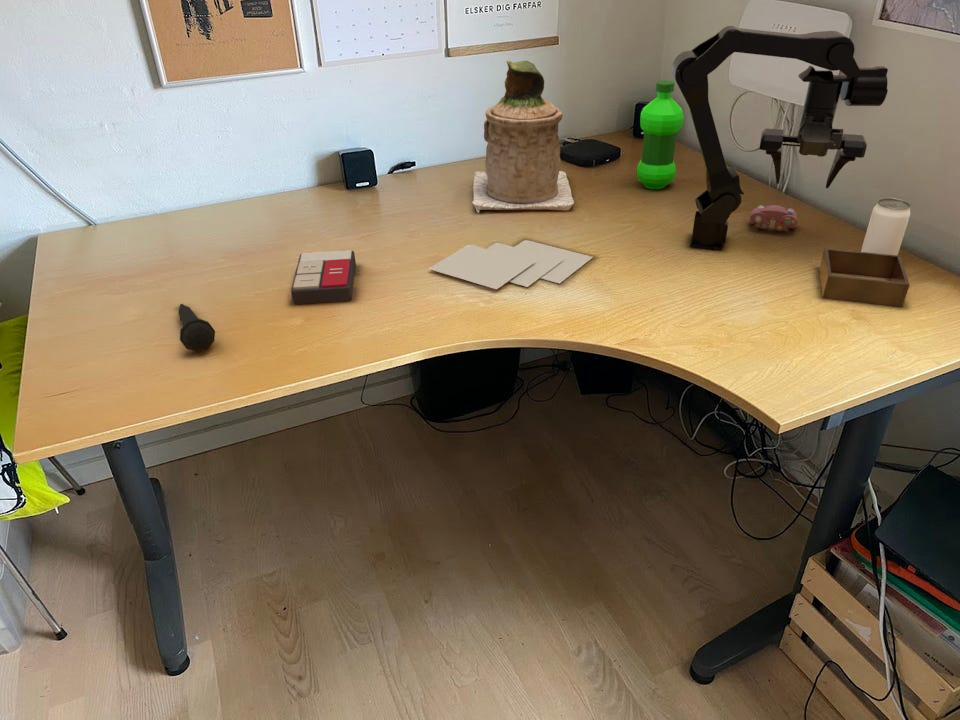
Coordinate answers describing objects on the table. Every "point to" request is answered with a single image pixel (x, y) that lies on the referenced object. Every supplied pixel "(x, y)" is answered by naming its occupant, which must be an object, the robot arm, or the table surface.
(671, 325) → the table surface
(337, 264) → the calculator
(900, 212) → the can
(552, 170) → the cookie jar
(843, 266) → the tray
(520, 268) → the paper stack
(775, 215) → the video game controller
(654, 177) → the plastic bottle
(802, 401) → the table surface
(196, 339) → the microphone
